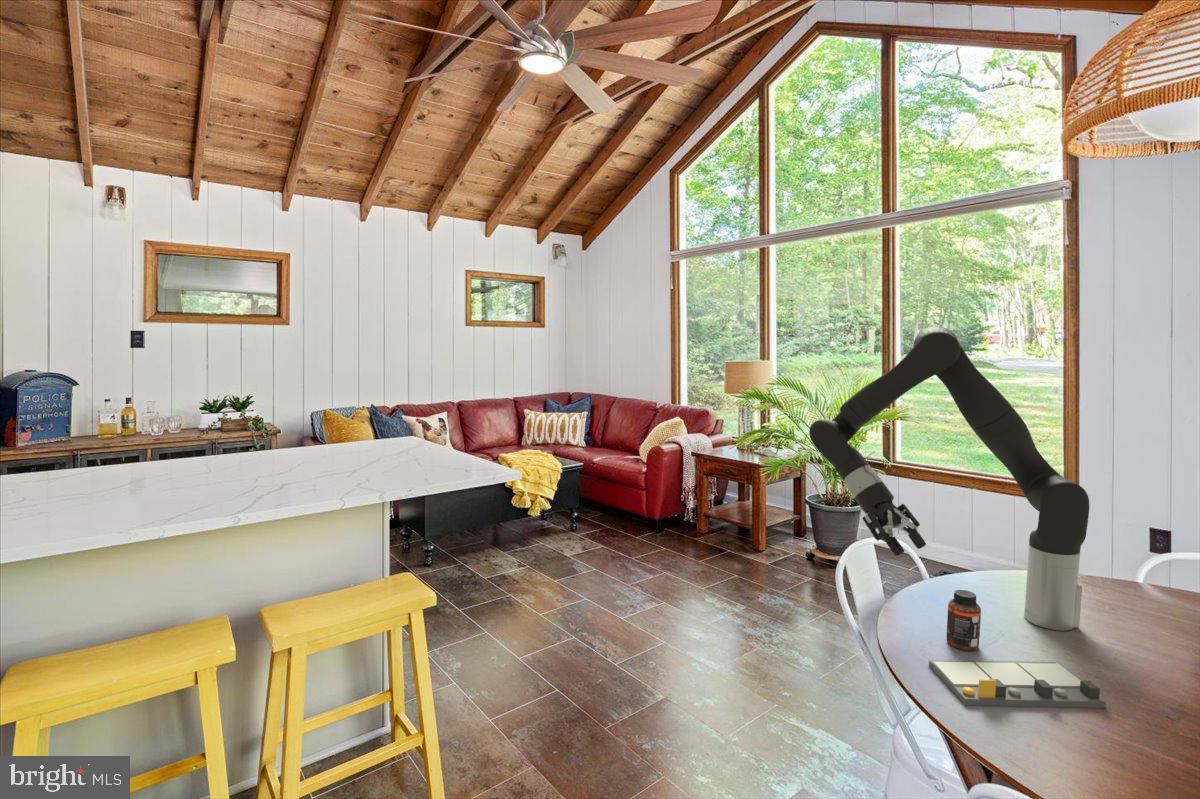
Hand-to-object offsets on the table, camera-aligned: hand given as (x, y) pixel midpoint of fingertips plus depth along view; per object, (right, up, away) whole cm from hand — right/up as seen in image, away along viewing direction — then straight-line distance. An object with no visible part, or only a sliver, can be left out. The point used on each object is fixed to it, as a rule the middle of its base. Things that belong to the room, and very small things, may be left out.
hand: (911, 550), depth 136 cm
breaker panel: (+7, -19, -23) cm, 31 cm away
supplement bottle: (+7, -18, -8) cm, 21 cm away
